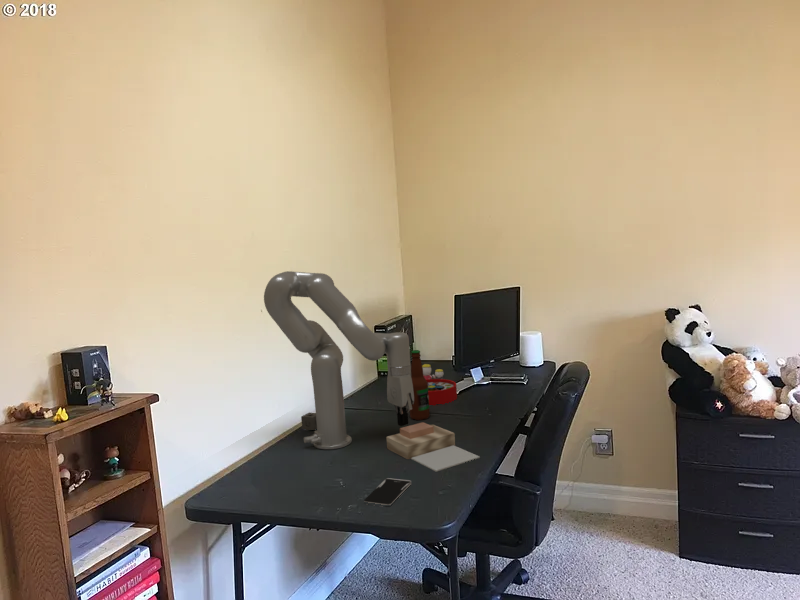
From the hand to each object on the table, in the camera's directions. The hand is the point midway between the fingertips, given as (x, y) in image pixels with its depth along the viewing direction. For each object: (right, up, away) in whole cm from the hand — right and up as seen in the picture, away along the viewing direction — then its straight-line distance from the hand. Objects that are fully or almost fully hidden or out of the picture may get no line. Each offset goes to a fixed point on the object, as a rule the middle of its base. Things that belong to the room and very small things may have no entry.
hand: (403, 424), depth 207 cm
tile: (+4, -2, -7) cm, 8 cm away
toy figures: (+13, +4, +73) cm, 74 cm away
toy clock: (+12, +1, +47) cm, 49 cm away
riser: (+6, -6, -8) cm, 11 cm away
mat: (+13, -6, -19) cm, 24 cm away
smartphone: (-4, -11, -41) cm, 43 cm away
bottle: (+6, -2, +23) cm, 24 cm away
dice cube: (-33, -5, +19) cm, 38 cm away
